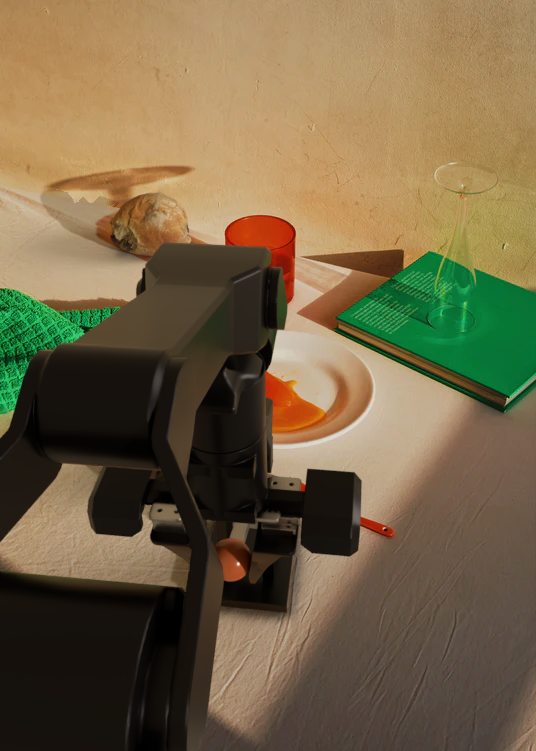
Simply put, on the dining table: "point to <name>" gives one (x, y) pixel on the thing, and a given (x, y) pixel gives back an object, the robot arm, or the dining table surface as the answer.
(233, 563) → the lever
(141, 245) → the bread roll
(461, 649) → the dining table surface
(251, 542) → the bracket
